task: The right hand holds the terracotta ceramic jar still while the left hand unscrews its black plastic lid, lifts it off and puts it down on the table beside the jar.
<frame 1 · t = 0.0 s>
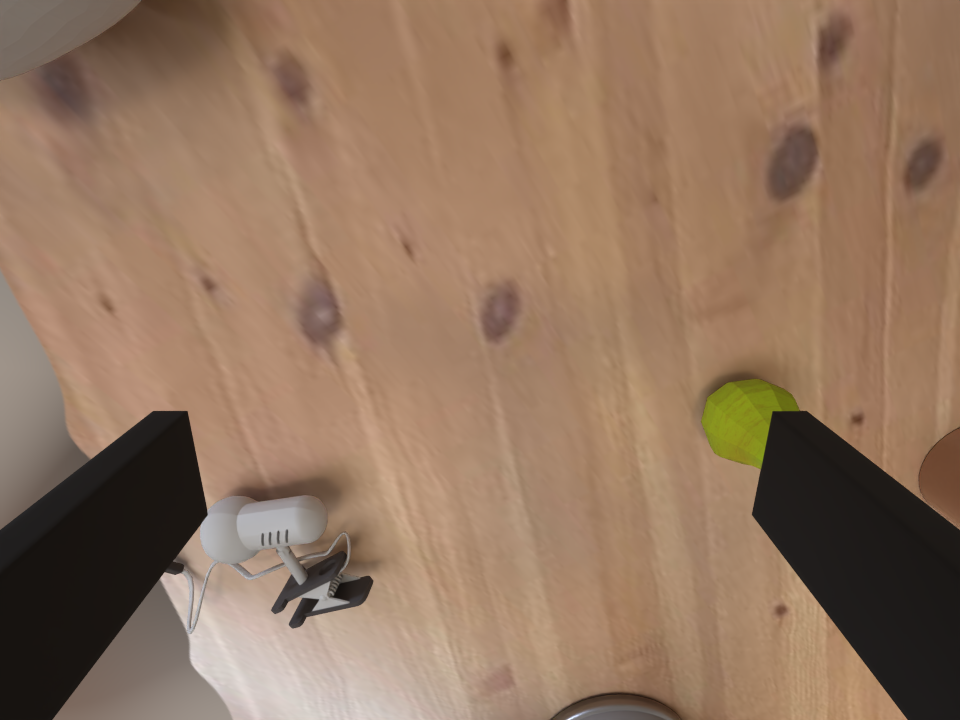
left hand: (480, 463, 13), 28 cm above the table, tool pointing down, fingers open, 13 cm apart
clip-on lamp: (260, 542, 47), on the table
fruit: (730, 402, 43), on the table
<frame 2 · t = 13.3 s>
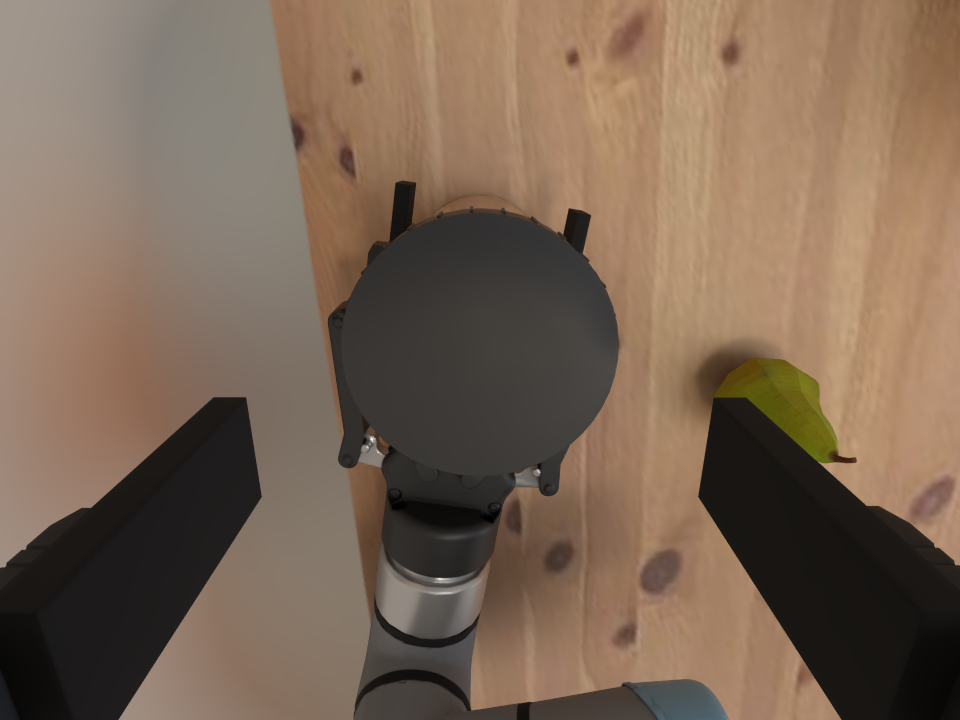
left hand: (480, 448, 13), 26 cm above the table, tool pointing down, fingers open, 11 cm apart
lid: (479, 352, 20), point 19 cm above the table, screwed on, not yet turned
jar: (479, 261, 37), on the table, touching right hand
fruit: (744, 385, 41), on the table
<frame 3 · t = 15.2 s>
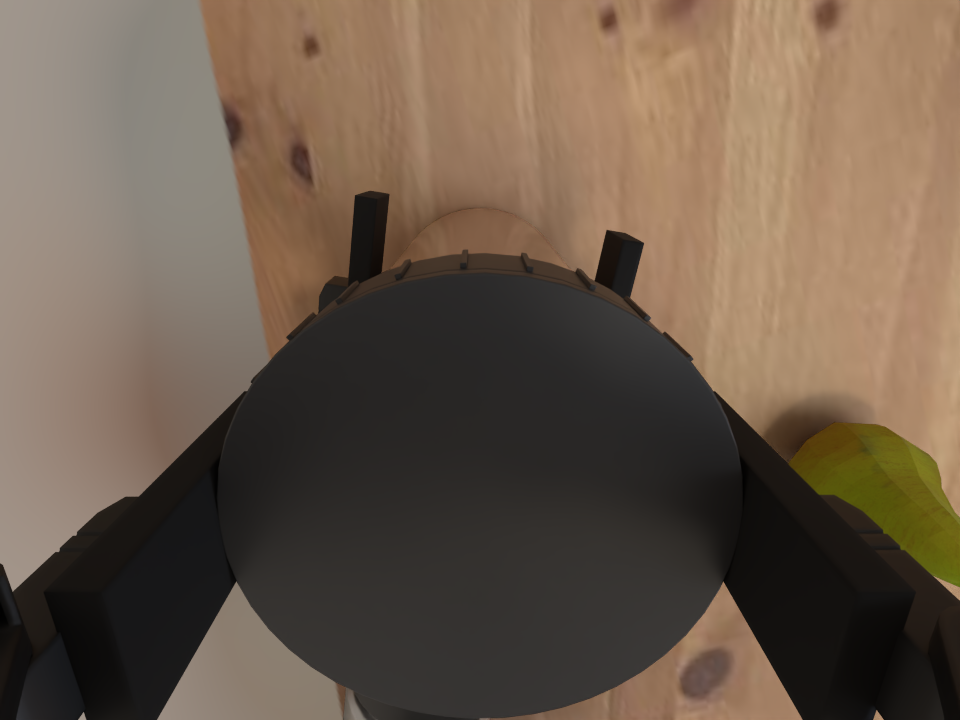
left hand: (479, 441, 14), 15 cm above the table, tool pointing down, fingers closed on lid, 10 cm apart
lid: (479, 520, 11), point 19 cm above the table, screwed on, not yet turned, touching left hand
jar: (480, 295, 28), on the table, touching right hand
fruit: (822, 451, 31), on the table
when the left hand's fingers open (16 cm above the table, at t = 16.8 s): lid stays where it is, point 19 cm above the table.
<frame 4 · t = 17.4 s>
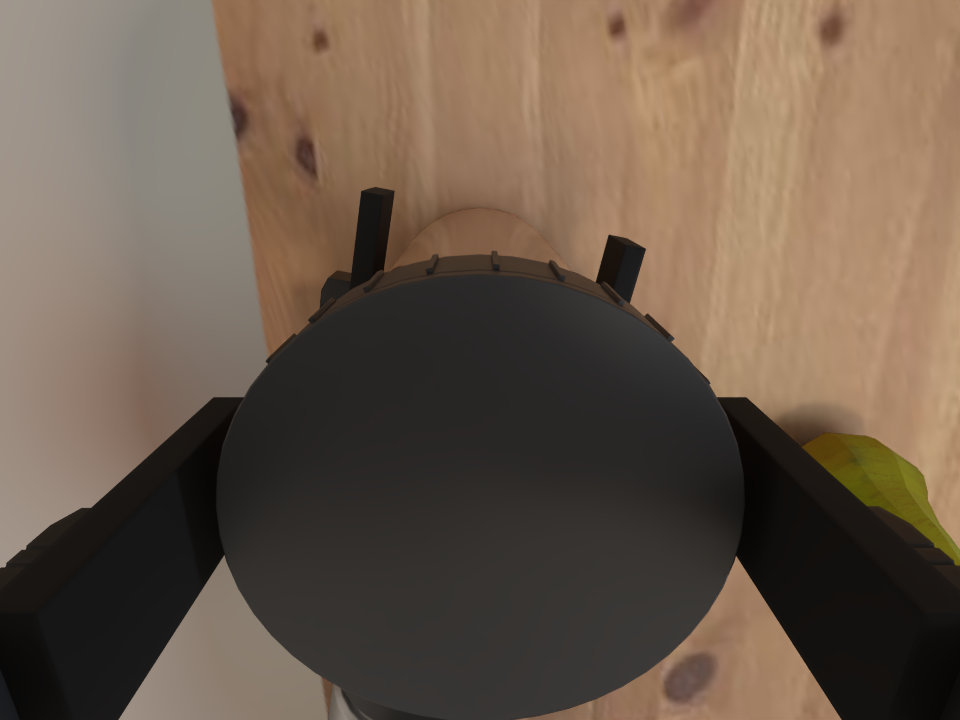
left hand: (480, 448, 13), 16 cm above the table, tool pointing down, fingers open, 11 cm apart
lid: (480, 523, 11), point 19 cm above the table, turned 86° so far, risen 0.2 cm, still on its thread
jar: (480, 294, 28), on the table, touching right hand
fruit: (812, 461, 32), on the table
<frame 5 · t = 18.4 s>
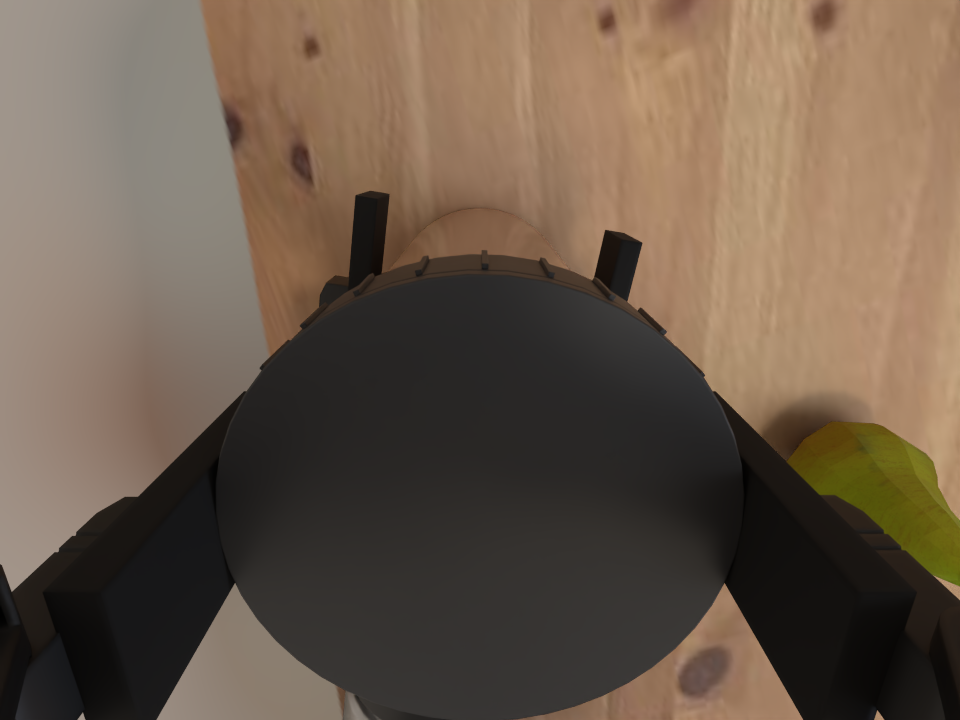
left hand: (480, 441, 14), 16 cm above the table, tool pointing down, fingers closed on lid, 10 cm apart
lid: (479, 522, 11), point 19 cm above the table, turned 86° so far, risen 0.2 cm, still on its thread, touching left hand
jar: (479, 294, 28), on the table, touching right hand
fruit: (819, 450, 32), on the table
when the left hand's fingers open (0 cm above the table, at t = 25.4 s): lid drops 2 cm, point 2 cm above the table.
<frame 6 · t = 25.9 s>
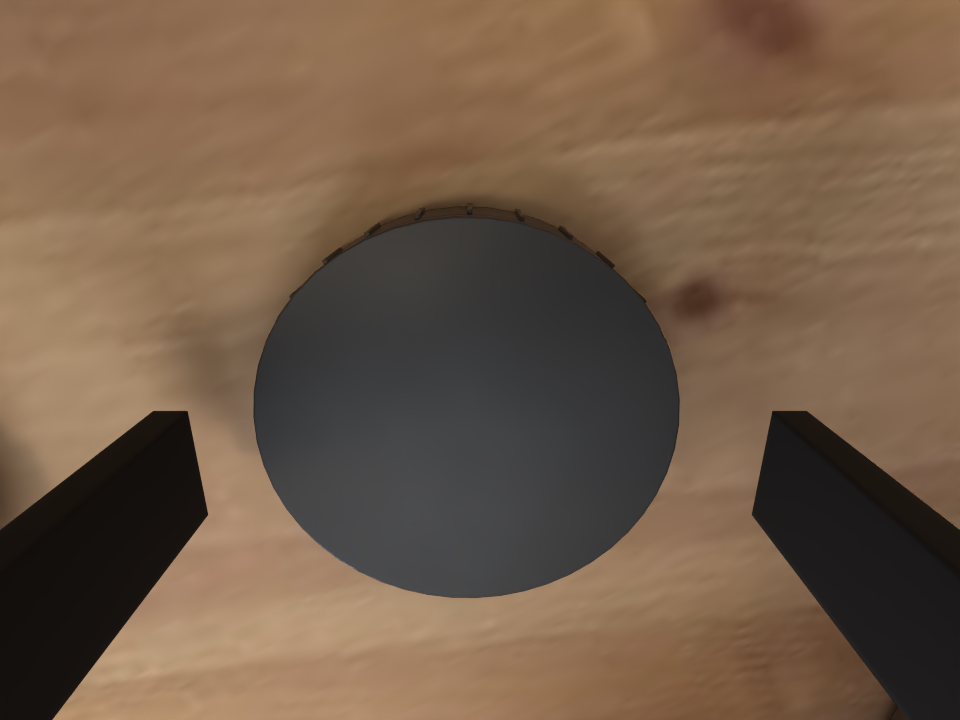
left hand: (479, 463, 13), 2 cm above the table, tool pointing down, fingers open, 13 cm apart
lid: (467, 426, 13), point 2 cm above the table, off its thread
when the right hand's fingers open (7 cm above the table, at t = 26.4 s): jar stays where it is, on the table.
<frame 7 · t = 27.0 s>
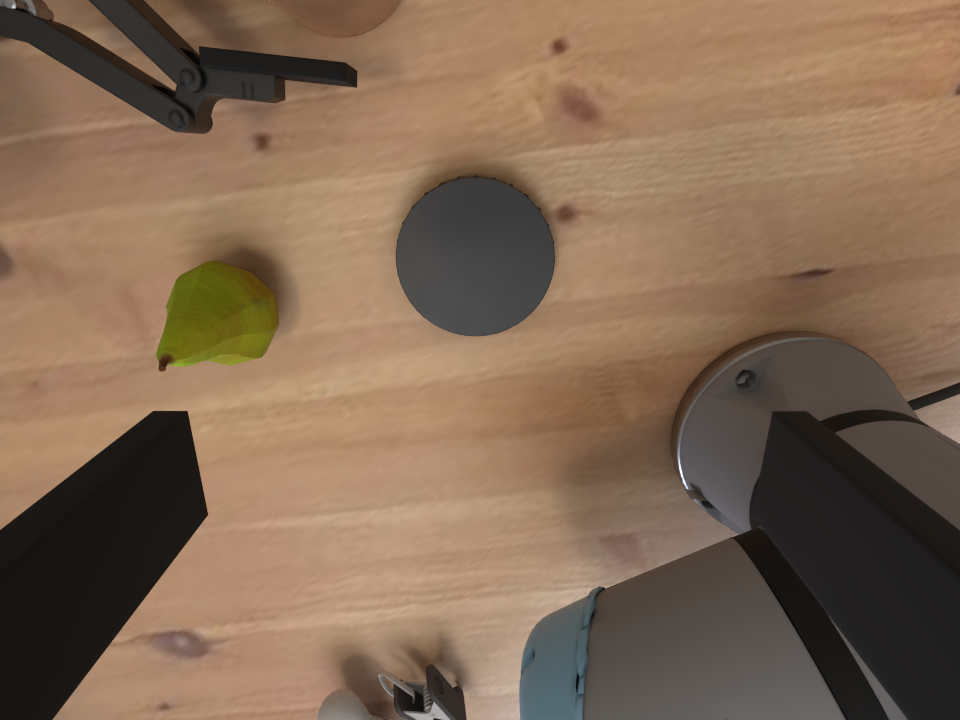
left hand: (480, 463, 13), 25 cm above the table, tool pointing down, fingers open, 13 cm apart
clip-on lamp: (410, 718, 51), on the table
lid: (475, 259, 35), point 2 cm above the table, off its thread
fruit: (245, 301, 37), on the table
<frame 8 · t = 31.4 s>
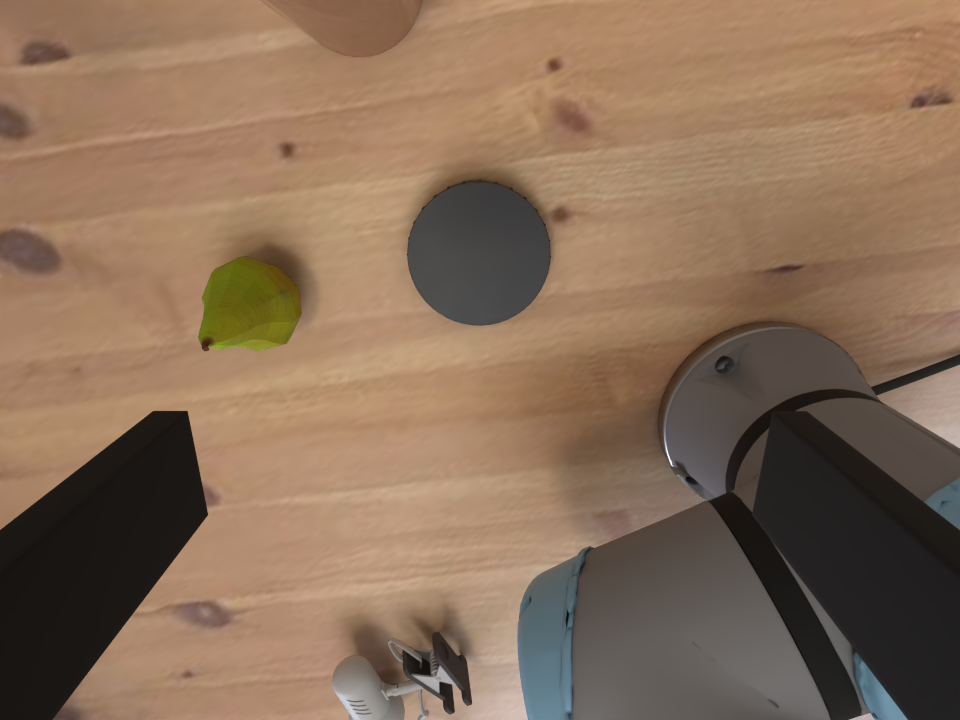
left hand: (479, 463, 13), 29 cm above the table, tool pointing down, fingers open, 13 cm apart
clip-on lamp: (416, 685, 54), on the table
lid: (478, 256, 38), point 2 cm above the table, off its thread
fruit: (270, 294, 41), on the table
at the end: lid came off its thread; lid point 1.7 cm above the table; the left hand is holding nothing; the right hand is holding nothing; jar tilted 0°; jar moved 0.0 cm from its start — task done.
